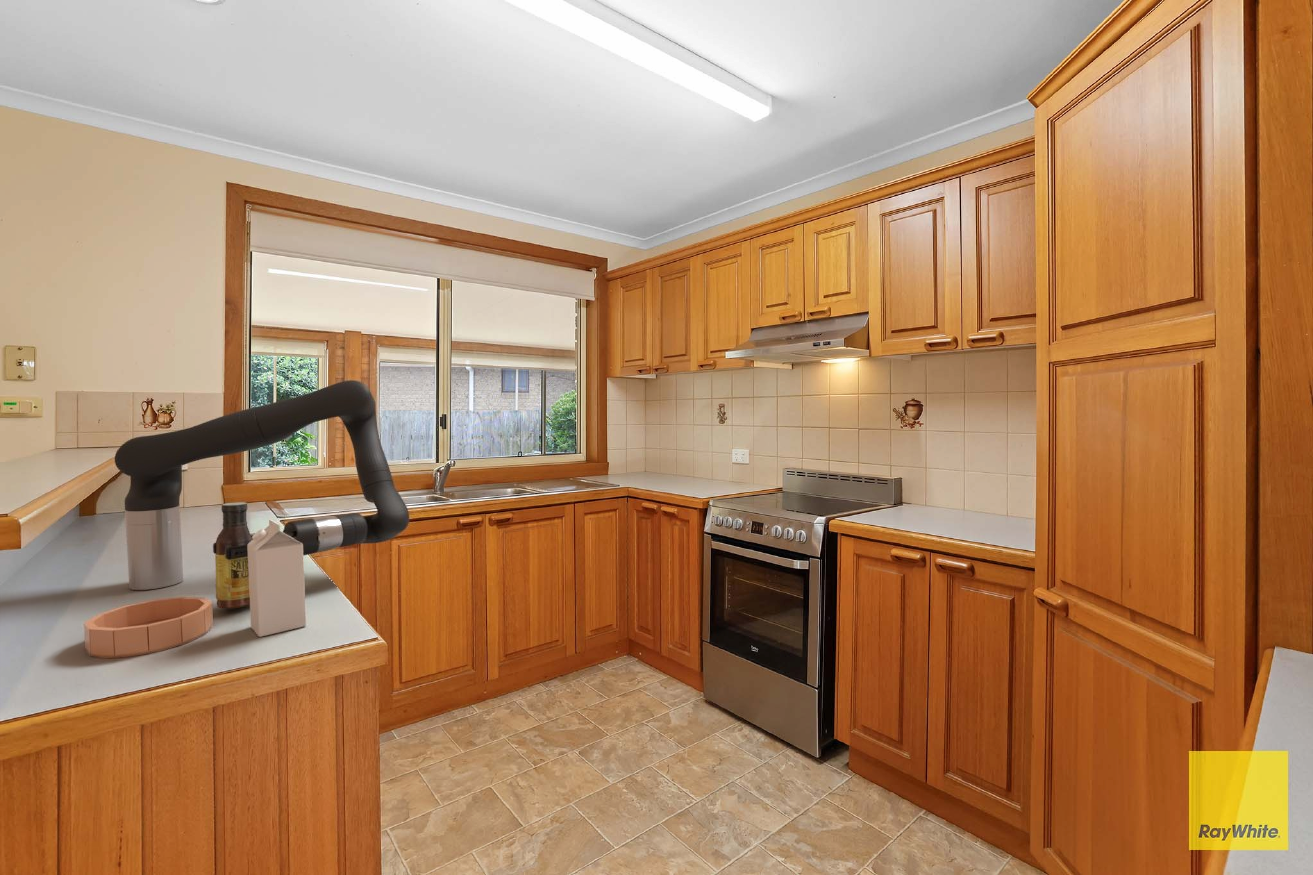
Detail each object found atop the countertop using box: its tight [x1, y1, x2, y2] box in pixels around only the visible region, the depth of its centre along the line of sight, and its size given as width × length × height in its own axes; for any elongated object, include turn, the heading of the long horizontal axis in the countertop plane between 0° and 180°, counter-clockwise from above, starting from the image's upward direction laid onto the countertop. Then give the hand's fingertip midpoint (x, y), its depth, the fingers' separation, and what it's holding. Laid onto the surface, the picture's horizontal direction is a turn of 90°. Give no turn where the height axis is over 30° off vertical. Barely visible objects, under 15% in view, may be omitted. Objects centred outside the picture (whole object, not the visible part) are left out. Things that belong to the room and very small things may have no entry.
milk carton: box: [247, 518, 307, 638], centre depth 104 cm, size 7×7×19 cm
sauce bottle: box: [214, 501, 252, 610], centre depth 114 cm, size 6×6×20 cm
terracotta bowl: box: [83, 596, 214, 659], centre depth 100 cm, size 16×16×4 cm
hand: (219, 551), depth 112 cm, fingers closed on sauce bottle, 6 cm apart
